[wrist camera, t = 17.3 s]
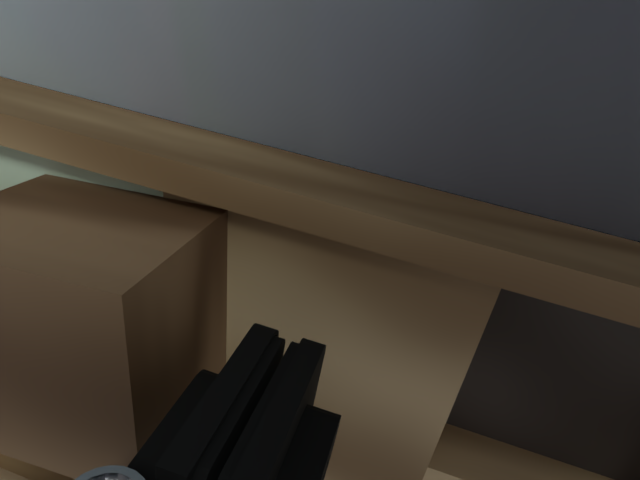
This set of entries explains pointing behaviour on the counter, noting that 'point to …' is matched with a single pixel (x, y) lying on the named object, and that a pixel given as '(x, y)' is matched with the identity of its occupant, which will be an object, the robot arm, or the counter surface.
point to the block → (102, 317)
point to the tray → (386, 297)
